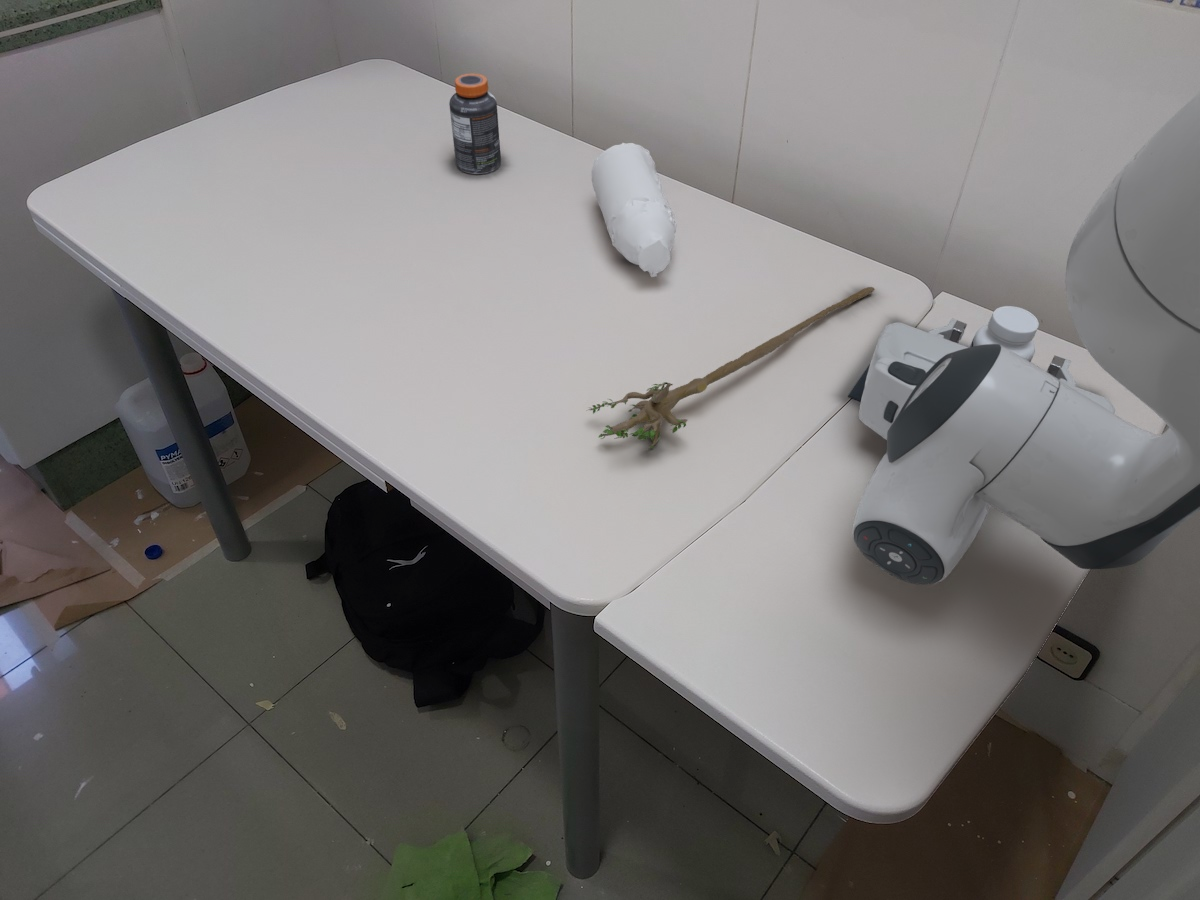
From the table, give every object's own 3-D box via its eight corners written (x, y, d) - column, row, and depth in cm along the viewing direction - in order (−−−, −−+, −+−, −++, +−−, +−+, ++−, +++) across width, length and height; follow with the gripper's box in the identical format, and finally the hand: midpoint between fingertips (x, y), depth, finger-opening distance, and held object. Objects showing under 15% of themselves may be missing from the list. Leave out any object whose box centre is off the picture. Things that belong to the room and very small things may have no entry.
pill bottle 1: (499, 152, 119) (494, 67, 110) (502, 174, 115) (497, 88, 106) (455, 154, 118) (446, 69, 110) (456, 176, 114) (447, 90, 106)
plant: (866, 290, 98) (884, 227, 92) (921, 327, 94) (944, 263, 88) (572, 430, 82) (572, 364, 77) (622, 482, 78) (626, 416, 72)
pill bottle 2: (1018, 415, 84) (1059, 335, 77) (966, 420, 84) (1001, 339, 77) (993, 378, 88) (1029, 298, 81) (942, 382, 88) (974, 302, 81)
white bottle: (616, 294, 97) (618, 231, 91) (590, 204, 110) (591, 144, 104) (686, 288, 98) (693, 226, 92) (653, 199, 111) (657, 140, 105)
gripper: (1108, 456, 68) (1142, 359, 76) (857, 358, 75) (912, 280, 83) (1075, 509, 72) (1110, 413, 80) (841, 411, 80) (895, 333, 88)
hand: (1007, 344), depth 82 cm, fingers open, 8 cm apart
